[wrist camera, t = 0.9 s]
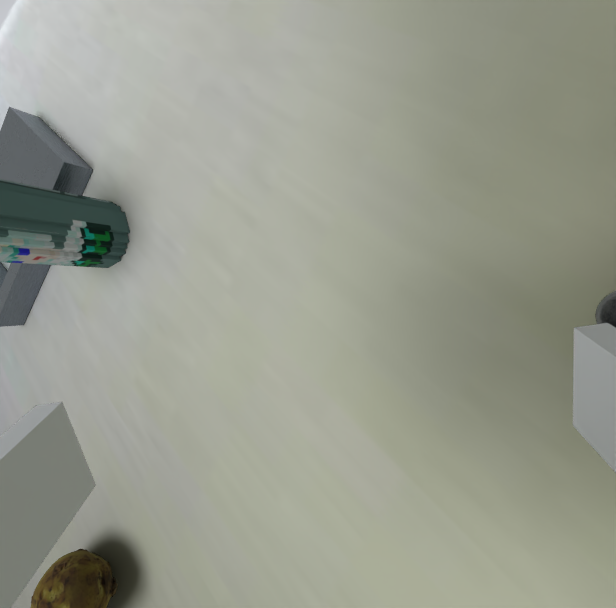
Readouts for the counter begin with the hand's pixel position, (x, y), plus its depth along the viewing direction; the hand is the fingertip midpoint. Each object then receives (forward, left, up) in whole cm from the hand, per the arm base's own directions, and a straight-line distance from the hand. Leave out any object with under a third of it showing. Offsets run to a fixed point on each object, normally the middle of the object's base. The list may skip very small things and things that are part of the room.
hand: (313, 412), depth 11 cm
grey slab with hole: (+19, -42, -19) cm, 50 cm away
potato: (+41, -11, -19) cm, 47 cm away
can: (+13, -31, -19) cm, 39 cm away
